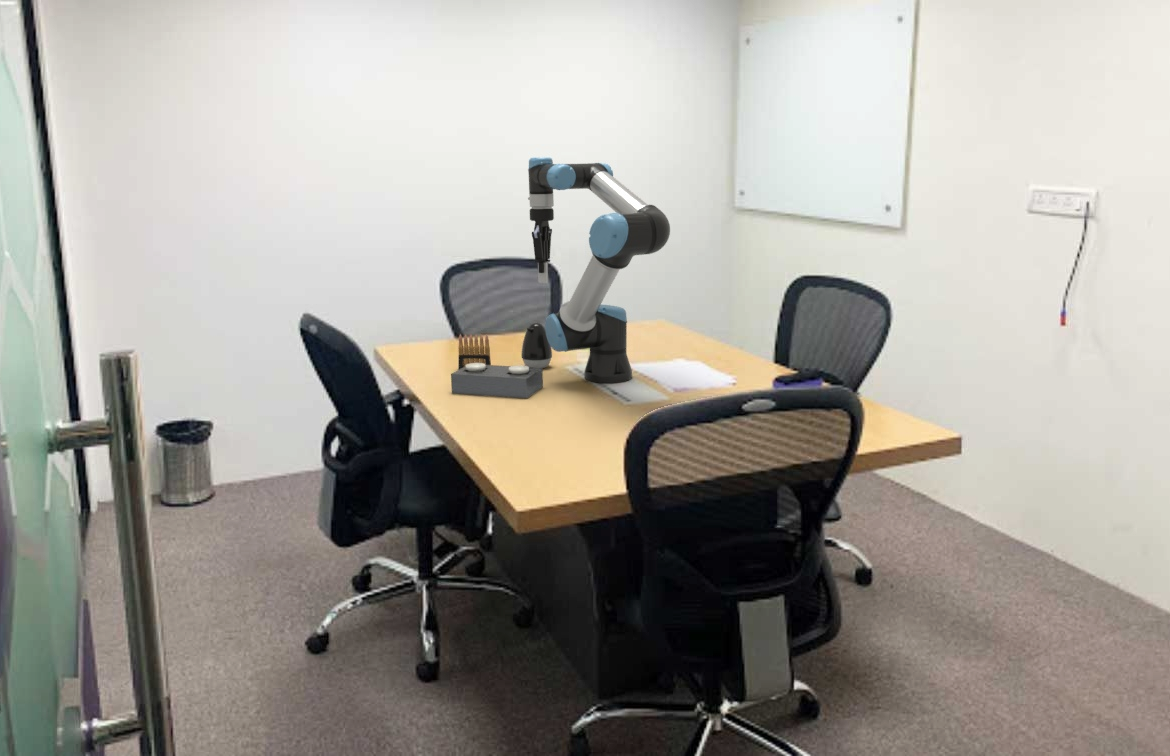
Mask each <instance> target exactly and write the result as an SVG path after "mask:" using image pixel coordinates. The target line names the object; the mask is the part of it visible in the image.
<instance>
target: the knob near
mask: <svg viewBox="0 0 1170 756" xmlns="http://www.w3.org/2000/svg"><path fill="white" fill-rule="evenodd" d="M510 366H511V365H510ZM528 372H529V367H528V366H526V365H523V364H521V365H512V366H511V367H509V373H512V374H514V375H526V373H528Z"/></svg>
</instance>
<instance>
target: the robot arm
mask: <svg viewBox="0 0 1170 756" xmlns="http://www.w3.org/2000/svg"><path fill="white" fill-rule="evenodd" d="M527 171H528V190H529V191H528V192H529V193H528V194H529V196H528V197H527V199H528V200H529V207H530V209H529V220H530V221H531V222H534V228H533V231H531V236H532V243H533V250H534V251H533V252H534V263H535V264H537V281H538V282H537V283H538V284H548V282H549V275H548V274H549V273H548V270H549V269H548V268H549V267H548V263H550V262H551V246H552V245H551V243H552V233H553V229H552V228H551V227H550V223H549V222H550V221H551V222H552V221H553V220H555V217H554V216H555V212H554V205H555V204H554V200H555V199H554V190H557V191H565V190H579V189H580V190H581V189H583V190H584V189H588V190H589V191H590V192H592V193H593V194H594V195H595V196H596V197H598V199H600V200H601V202H604V203H605V205H607V206H608V207H609V208H610V209H611V210H613V211H614V212H611V213H608V214H602V215H599V216H598V217H596V219H594V220H593V222H592V224H591V226H590V229H589V233H588V234H589V236H588V244H589V248H590V250H591V251H590V252H591V254H592V256H591V258H590V261H589V262H588V264H587V266H586V268H585V270H584V273H583V274H582V276H581V278H580V280H579V282H578V284H577V285H576V288H575V289H574V292H573V294H572V296H571V298H570V300H569V301H566V302H564V303H563V304H562V305H561V306H560V307H559V308H560V309H559V310H558V312H557V313H551V314H549V315H548V316H546V318H545V323H544V328H545V331H546V336H547V340H548V342H549V344H550V346H551V350H553V351H555V352H558V353H559V352H565V353H566V352H571V351H578V350H584V349H589V355H588V358H587V362H586V365H585V368H584V379H585V380H587V381H589V382H593V383H599V384H601V383H604V384H606V383H607V384H613V383H623V382H626V381H629V380H631V379H632V378H633V369H632V366H631V364H630V361H629V358H628V354H627V347H628V346H627V343H628V342H627V340H628V339H627V333H628V332H627V327H628V326H627V324H628V321H627V319H628V318H627V311H626V310H625V309H624V308H623V307H620V306H615V305H610V304H609V305H608V304H602V303H603V302H604V299H605V297H606V295H607V294H608V292H609V290H610V288H611V286H612V284H613V283H614V281H615V279H616V277H617V275H618V273H619V272H620V270H624V269H625V268H627V267H628V265H629V264H630V263H631V261H632V259H633V257H634V256H642V255H651V254H655V253H656V252H658V251H660V250H661V249H662V248H664V246H666V244H667V243H668V241H669V238H670V236H671V225H670V222H669V219H668V217H667V215H666V214H665V213H664V212H663V211H662V210H661V209H659V208H658V207H657V206H656V205H654V204H647V202H645V201H644V200H643V199H641V197H639V196H638V195H636V194H635V193H634V192H632V191H631V190H630V189H629V188H628V187H626V186H625V185H624V184H622V183H621V182H620V181H619V180H618V179H616V178H615V177H614V172H613V169H612V168H611V166H610V165H609V164H608V163H602V162H594V163H593V162H591V163H589V162H588V163H553V158H552V157H545V156H544V157H543V156H542V157H540V156H539V157H530V158H529V159H528V169H527Z"/></svg>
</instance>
